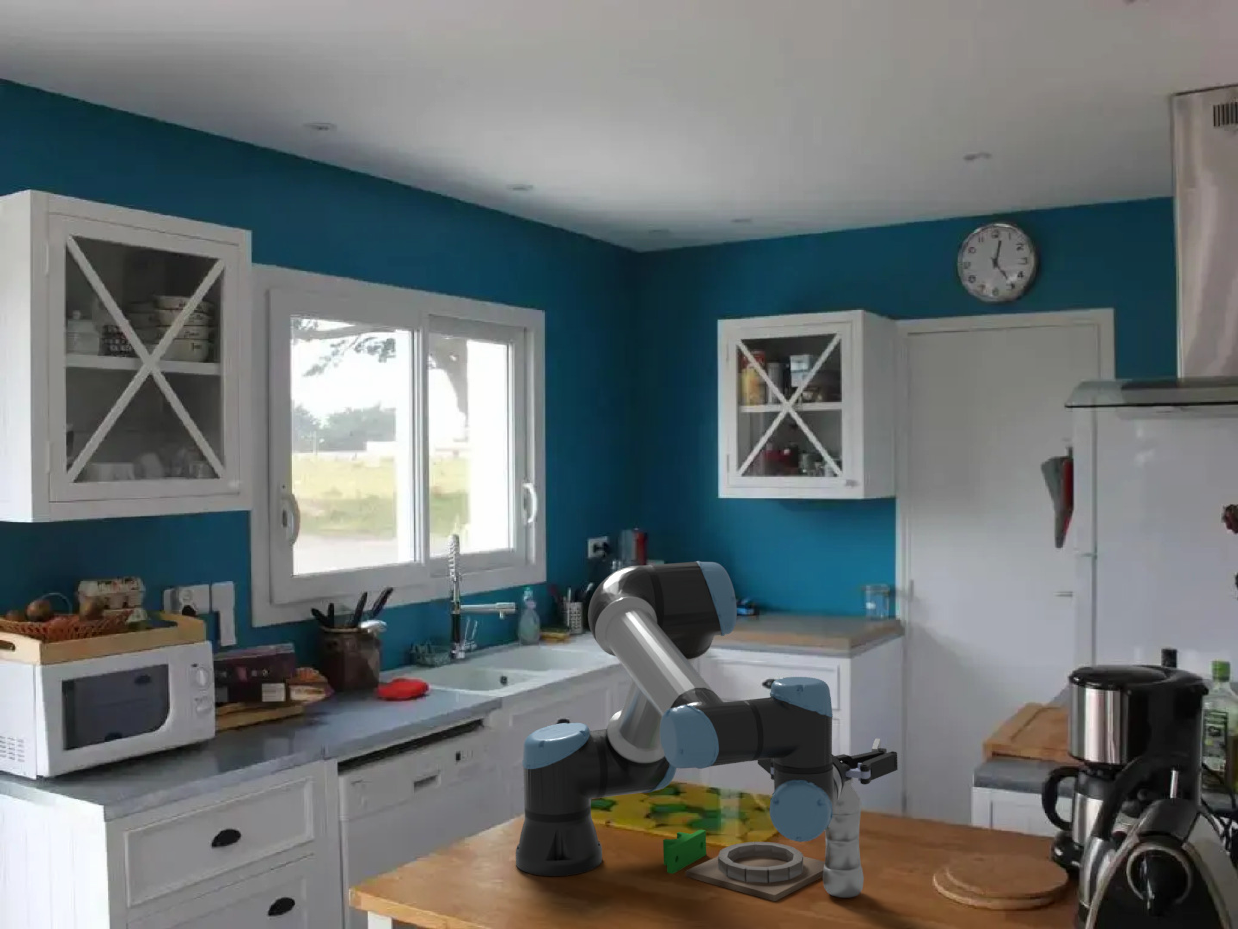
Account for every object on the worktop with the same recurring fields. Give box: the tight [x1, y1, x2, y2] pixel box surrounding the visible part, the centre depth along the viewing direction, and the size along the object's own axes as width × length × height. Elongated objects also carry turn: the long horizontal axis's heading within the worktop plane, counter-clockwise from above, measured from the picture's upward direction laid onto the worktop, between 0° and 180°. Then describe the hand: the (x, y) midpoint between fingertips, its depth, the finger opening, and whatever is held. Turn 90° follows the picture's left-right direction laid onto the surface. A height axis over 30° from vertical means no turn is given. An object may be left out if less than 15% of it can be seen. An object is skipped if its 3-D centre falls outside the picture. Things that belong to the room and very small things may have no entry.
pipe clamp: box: [662, 829, 707, 875], centre depth 210 cm, size 11×4×5 cm, turn 145°
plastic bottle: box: [822, 778, 865, 899], centre depth 193 cm, size 6×7×20 cm
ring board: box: [685, 841, 825, 902], centre depth 203 cm, size 18×18×3 cm
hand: (832, 745), depth 183 cm, fingers open, 13 cm apart
